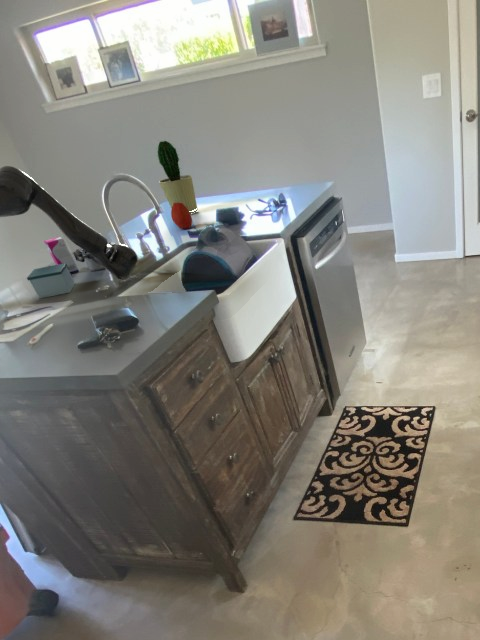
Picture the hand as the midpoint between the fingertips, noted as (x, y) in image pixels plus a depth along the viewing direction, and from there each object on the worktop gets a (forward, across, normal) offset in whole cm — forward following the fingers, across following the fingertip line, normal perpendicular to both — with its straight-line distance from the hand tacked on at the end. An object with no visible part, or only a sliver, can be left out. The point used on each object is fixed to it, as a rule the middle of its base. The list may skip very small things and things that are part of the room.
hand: (89, 249), depth 189 cm
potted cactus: (+54, -63, +7) cm, 83 cm away
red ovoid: (+23, -48, +7) cm, 54 cm away
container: (-12, +19, +7) cm, 24 cm away
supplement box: (+8, +8, +7) cm, 14 cm away
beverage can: (0, 0, +7) cm, 7 cm away
